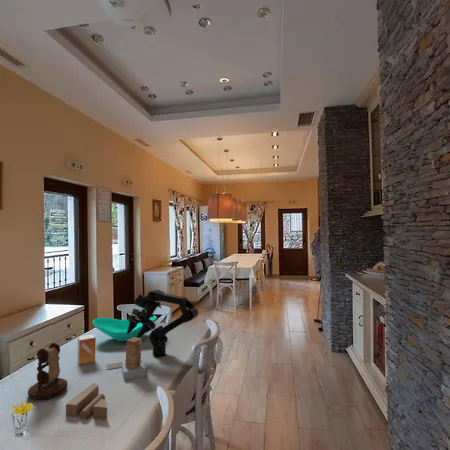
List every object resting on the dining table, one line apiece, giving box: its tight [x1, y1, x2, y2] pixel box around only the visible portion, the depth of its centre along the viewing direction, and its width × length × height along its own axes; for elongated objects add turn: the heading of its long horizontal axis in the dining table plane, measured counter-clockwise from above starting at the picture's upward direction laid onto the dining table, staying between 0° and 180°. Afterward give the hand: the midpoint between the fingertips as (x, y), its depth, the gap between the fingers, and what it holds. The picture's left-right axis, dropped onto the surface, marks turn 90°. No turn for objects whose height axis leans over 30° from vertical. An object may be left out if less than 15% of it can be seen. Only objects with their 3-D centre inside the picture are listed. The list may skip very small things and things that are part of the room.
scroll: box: [27, 342, 68, 400], centre depth 130 cm, size 15×15×20 cm
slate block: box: [121, 360, 147, 381], centre depth 148 cm, size 10×10×4 cm
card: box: [106, 361, 124, 371], centre depth 156 cm, size 8×6×1 cm
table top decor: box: [92, 314, 158, 342], centre depth 195 cm, size 40×28×13 cm
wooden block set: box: [65, 382, 108, 420], centre depth 121 cm, size 17×6×18 cm
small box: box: [76, 333, 96, 366], centre depth 162 cm, size 8×6×13 cm
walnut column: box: [125, 336, 142, 369], centre depth 148 cm, size 5×5×13 cm
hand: (132, 335), depth 162 cm, fingers open, 9 cm apart
